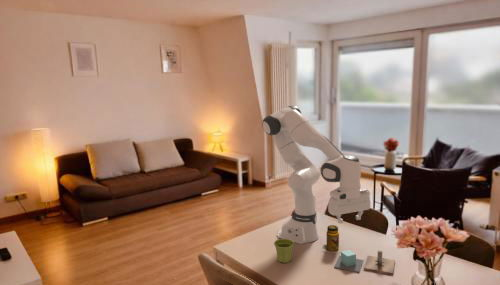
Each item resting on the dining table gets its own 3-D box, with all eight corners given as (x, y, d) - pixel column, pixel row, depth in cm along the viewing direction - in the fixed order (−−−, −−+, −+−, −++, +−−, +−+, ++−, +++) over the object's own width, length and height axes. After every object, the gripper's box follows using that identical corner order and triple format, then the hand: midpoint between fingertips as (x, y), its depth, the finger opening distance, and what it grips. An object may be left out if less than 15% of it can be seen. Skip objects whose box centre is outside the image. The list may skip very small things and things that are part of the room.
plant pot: (271, 257, 170) (270, 241, 169) (288, 253, 174) (287, 237, 172) (280, 266, 162) (279, 249, 160) (297, 262, 165) (297, 244, 164)
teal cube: (340, 261, 163) (341, 251, 162) (349, 259, 165) (349, 249, 164) (346, 266, 159) (347, 256, 158) (355, 264, 160) (356, 254, 159)
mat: (334, 268, 159) (334, 266, 159) (339, 256, 169) (339, 255, 169) (359, 272, 154) (359, 271, 154) (362, 261, 164) (362, 259, 164)
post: (363, 269, 157) (364, 255, 155) (367, 257, 167) (367, 243, 166) (392, 275, 151) (393, 260, 150) (394, 262, 162) (395, 248, 161)
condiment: (339, 253, 172) (339, 230, 170) (321, 251, 175) (321, 228, 173) (339, 246, 179) (340, 224, 177) (323, 244, 182) (323, 223, 179)
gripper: (365, 186, 162) (364, 215, 164) (326, 192, 155) (326, 222, 158) (374, 190, 156) (373, 220, 158) (334, 197, 149) (333, 227, 152)
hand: (349, 221), depth 158 cm, fingers open, 8 cm apart
